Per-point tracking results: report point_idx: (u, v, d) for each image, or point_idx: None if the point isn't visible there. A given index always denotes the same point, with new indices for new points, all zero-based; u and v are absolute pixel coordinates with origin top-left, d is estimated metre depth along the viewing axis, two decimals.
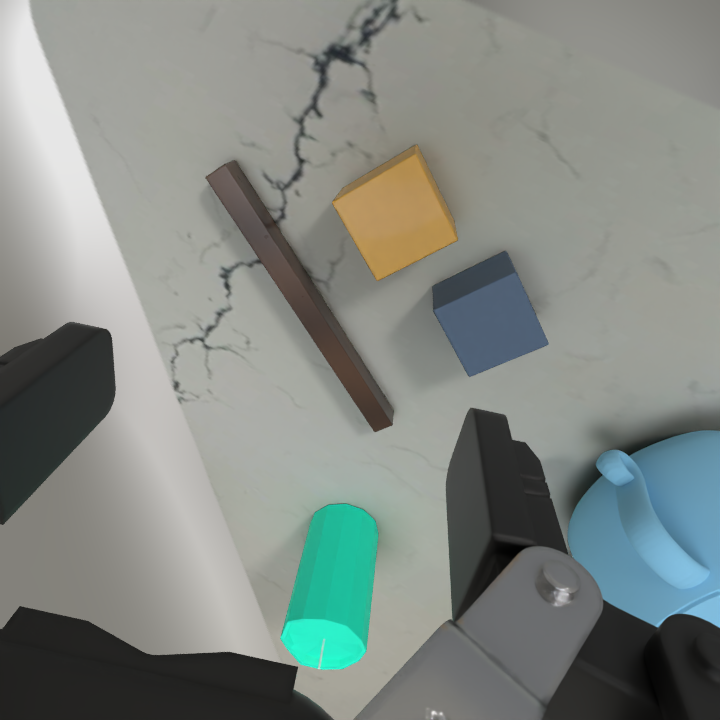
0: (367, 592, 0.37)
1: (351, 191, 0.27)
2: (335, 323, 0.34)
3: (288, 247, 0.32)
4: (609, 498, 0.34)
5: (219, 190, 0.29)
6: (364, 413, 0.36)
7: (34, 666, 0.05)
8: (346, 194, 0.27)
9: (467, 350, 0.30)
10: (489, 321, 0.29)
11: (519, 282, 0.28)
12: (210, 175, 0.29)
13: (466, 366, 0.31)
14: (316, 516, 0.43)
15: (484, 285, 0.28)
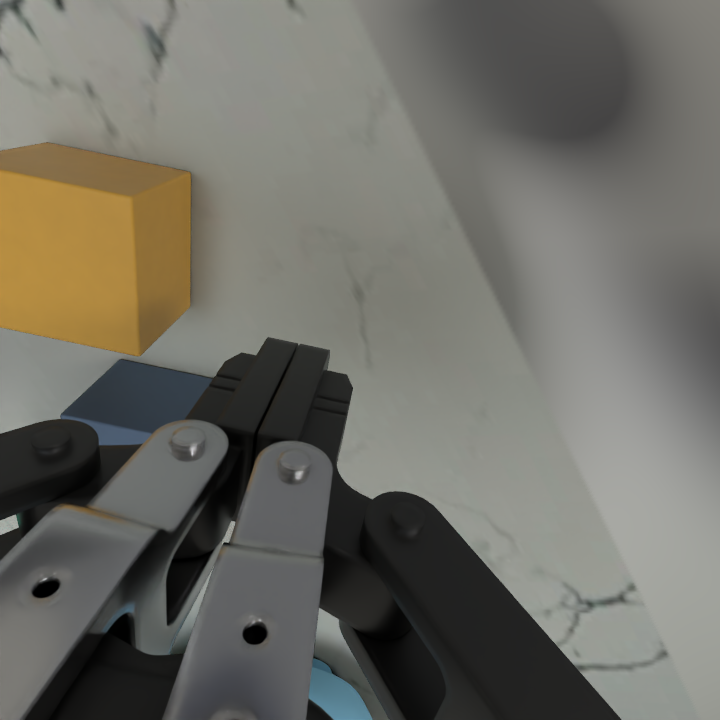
0: None
1: None
2: None
3: None
4: None
5: None
6: None
7: None
8: None
9: None
10: None
11: None
12: None
13: None
14: None
15: (151, 431, 0.18)
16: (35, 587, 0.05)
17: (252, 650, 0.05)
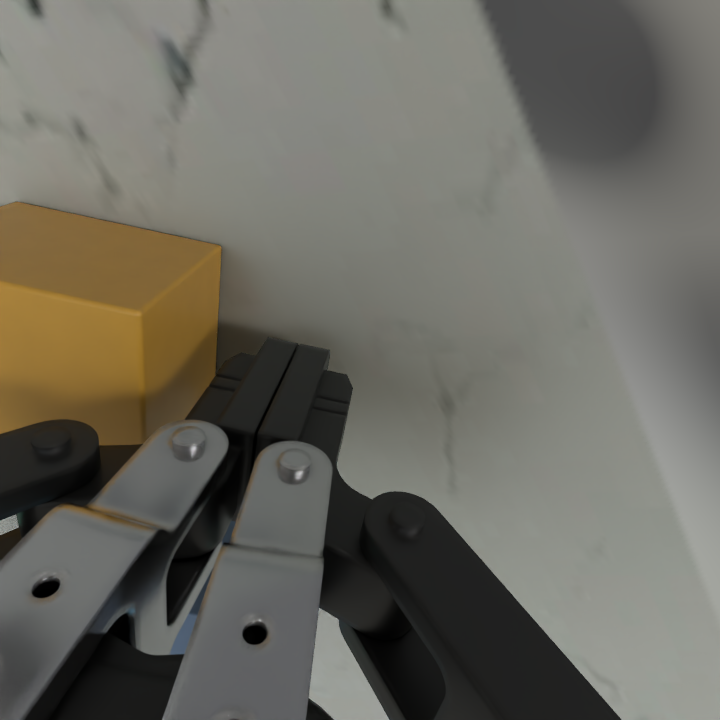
0: None
1: None
2: None
3: None
4: None
5: None
6: None
7: None
8: None
9: None
10: None
11: None
12: None
13: None
14: None
15: None
16: (35, 587, 0.05)
17: (251, 649, 0.05)
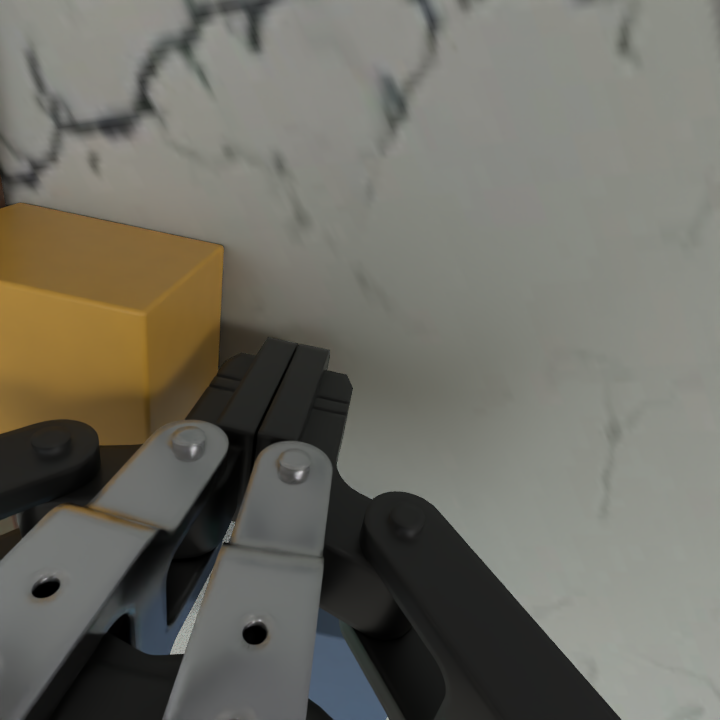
0: None
1: None
2: None
3: None
4: None
5: None
6: None
7: None
8: None
9: None
10: None
11: None
12: None
13: None
14: None
15: (341, 633, 0.13)
16: (35, 587, 0.05)
17: (252, 649, 0.05)
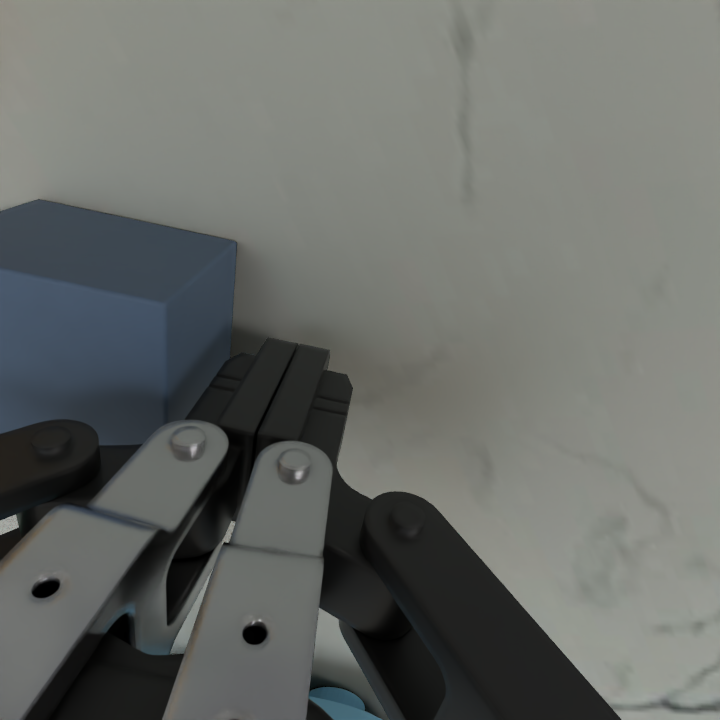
0: None
1: None
2: None
3: None
4: None
5: None
6: None
7: None
8: None
9: None
10: (44, 375, 0.10)
11: (161, 336, 0.09)
12: None
13: None
14: None
15: (70, 279, 0.09)
16: (35, 587, 0.05)
17: (251, 649, 0.05)
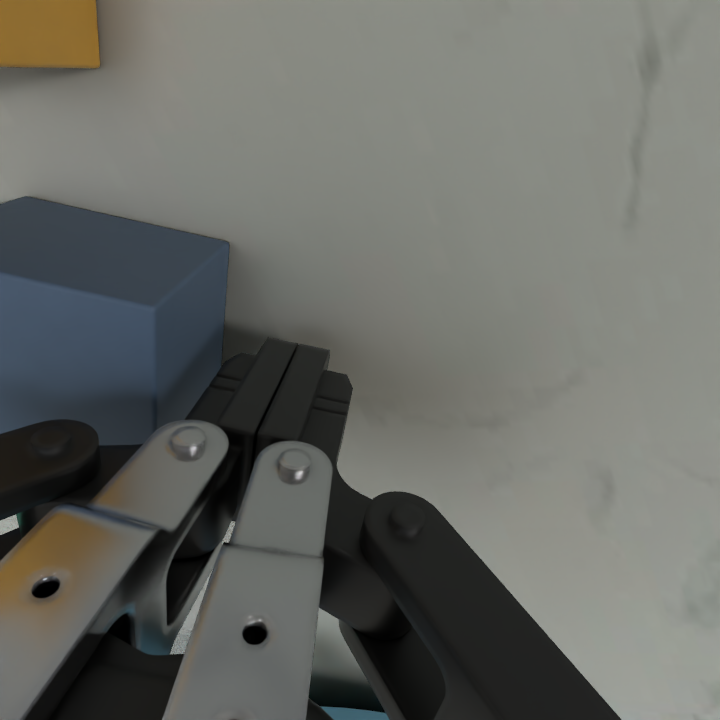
0: None
1: None
2: None
3: None
4: None
5: None
6: None
7: None
8: None
9: None
10: (30, 379, 0.10)
11: (150, 340, 0.09)
12: None
13: None
14: None
15: (56, 281, 0.09)
16: (34, 586, 0.05)
17: (252, 649, 0.05)
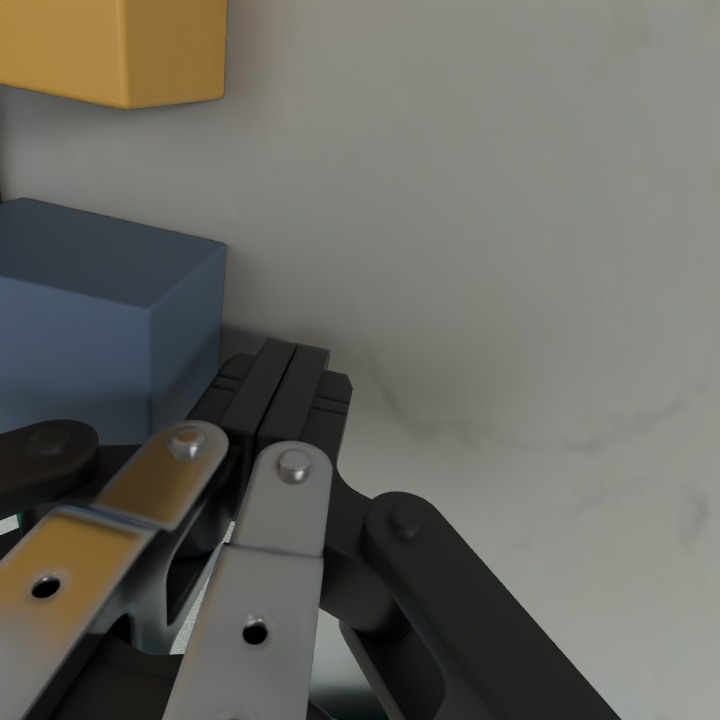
0: None
1: None
2: None
3: None
4: None
5: None
6: None
7: None
8: None
9: None
10: (24, 382, 0.10)
11: (144, 343, 0.09)
12: None
13: None
14: None
15: (51, 283, 0.09)
16: (35, 587, 0.05)
17: (251, 649, 0.05)
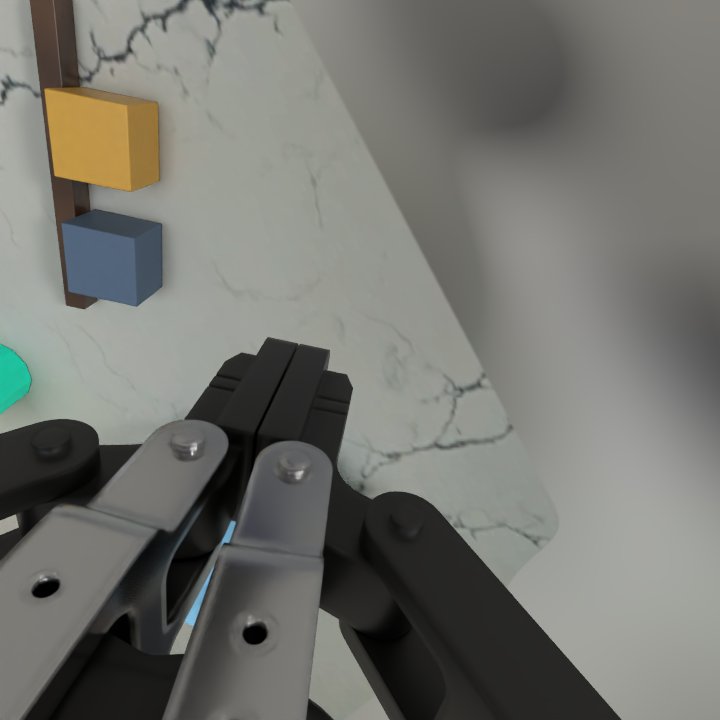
0: None
1: (64, 92, 0.30)
2: (84, 197, 0.36)
3: None
4: None
5: (35, 12, 0.30)
6: (65, 284, 0.38)
7: None
8: (59, 91, 0.30)
9: (75, 270, 0.35)
10: (100, 261, 0.35)
11: (133, 248, 0.34)
12: None
13: (69, 282, 0.36)
14: None
15: (109, 232, 0.34)
16: (35, 587, 0.05)
17: (251, 650, 0.05)
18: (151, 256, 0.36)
